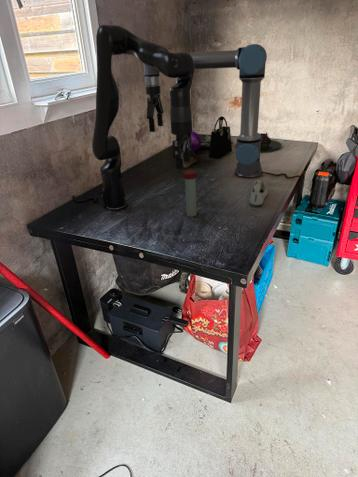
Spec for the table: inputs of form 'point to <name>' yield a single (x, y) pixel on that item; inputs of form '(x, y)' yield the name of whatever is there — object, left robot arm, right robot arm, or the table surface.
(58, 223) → the table surface
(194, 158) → the boot
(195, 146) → the decorative orb
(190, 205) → the bottle
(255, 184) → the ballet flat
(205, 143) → the pair of gloves
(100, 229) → the table surface
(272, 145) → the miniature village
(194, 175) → the lid
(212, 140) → the handbag
